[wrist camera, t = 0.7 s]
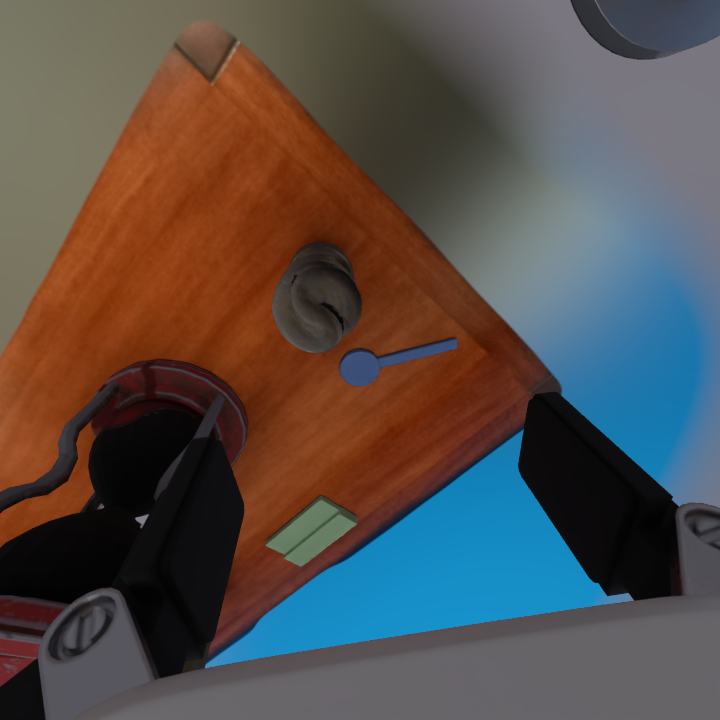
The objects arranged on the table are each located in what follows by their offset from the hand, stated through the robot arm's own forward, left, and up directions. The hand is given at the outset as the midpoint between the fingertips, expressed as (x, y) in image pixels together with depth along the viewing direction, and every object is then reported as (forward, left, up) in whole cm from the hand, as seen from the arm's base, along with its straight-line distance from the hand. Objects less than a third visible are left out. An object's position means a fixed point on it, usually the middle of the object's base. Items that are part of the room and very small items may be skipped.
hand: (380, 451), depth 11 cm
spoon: (-3, +11, -26) cm, 28 cm away
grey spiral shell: (+2, -1, -26) cm, 26 cm away
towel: (+14, +35, -26) cm, 46 cm away
